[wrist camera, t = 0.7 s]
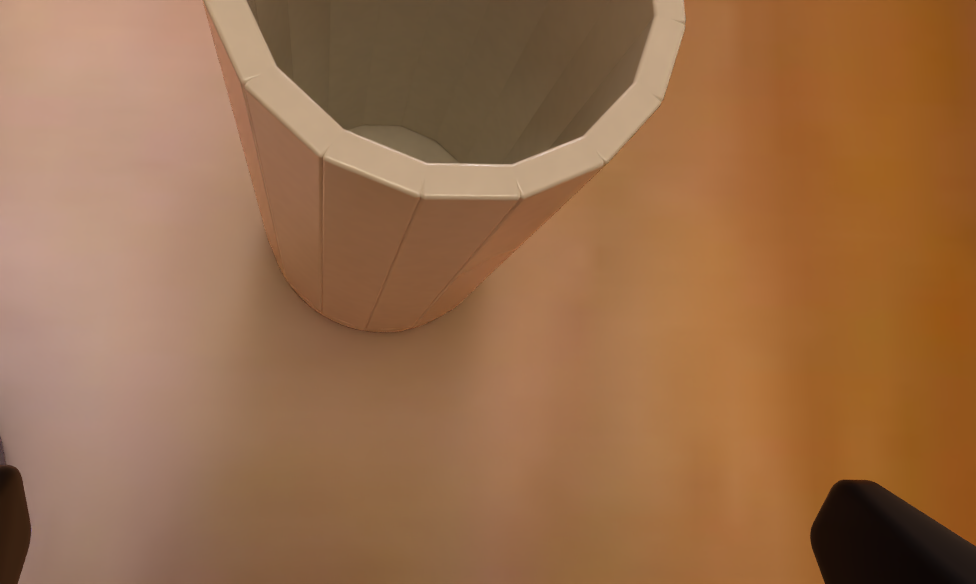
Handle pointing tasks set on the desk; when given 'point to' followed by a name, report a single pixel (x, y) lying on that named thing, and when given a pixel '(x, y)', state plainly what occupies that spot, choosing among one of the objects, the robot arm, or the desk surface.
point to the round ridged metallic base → (1, 454)
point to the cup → (428, 133)
